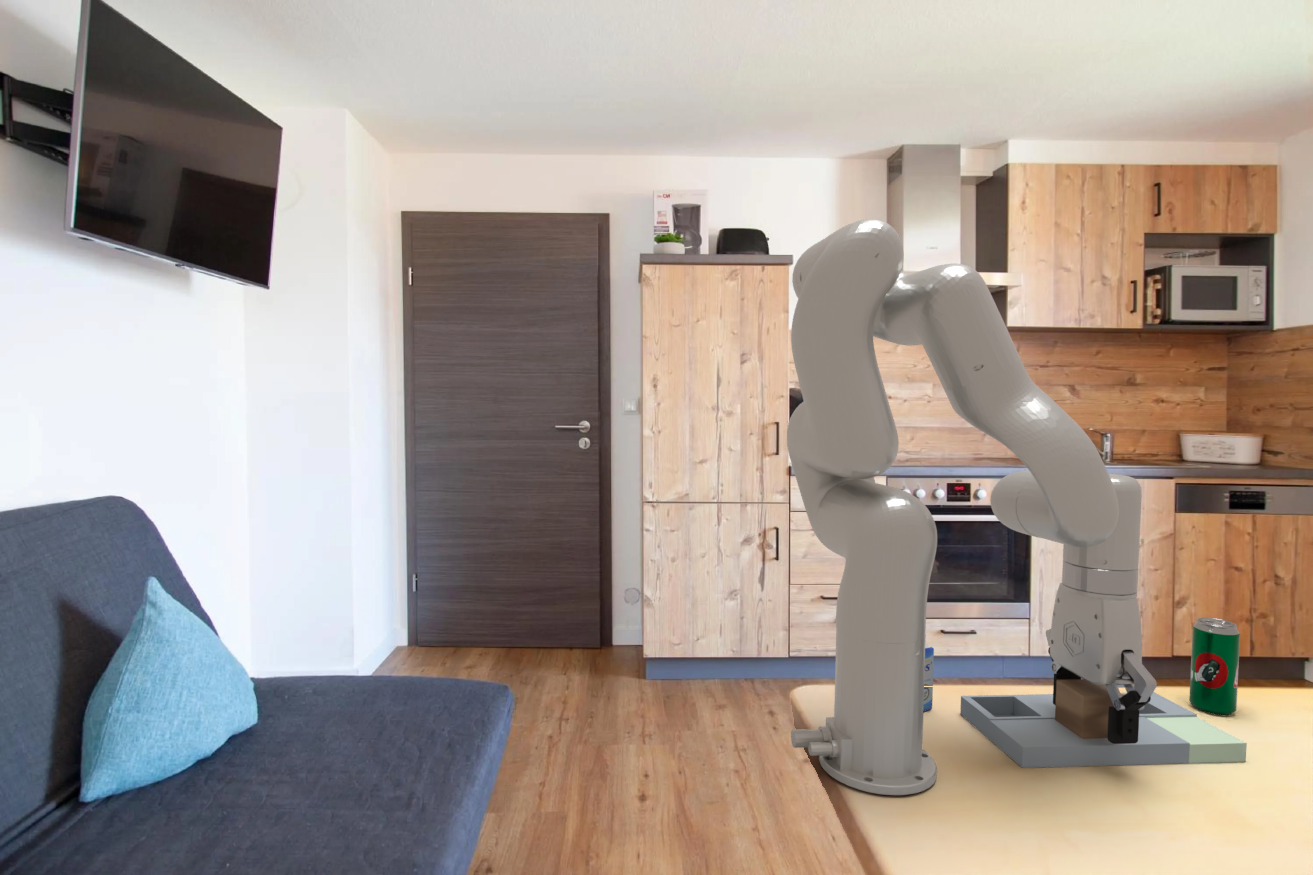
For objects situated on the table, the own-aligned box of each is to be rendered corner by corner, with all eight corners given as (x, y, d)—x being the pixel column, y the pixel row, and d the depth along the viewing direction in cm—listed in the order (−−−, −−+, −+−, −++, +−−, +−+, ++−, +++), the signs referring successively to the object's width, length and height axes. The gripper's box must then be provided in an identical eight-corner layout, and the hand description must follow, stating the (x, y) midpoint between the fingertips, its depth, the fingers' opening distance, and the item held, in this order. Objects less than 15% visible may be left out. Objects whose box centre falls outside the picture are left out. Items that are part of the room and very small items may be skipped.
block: (1082, 738, 83) (1083, 696, 83) (1055, 719, 88) (1056, 679, 88) (1123, 737, 84) (1124, 695, 84) (1093, 718, 89) (1095, 678, 89)
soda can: (1244, 718, 95) (1249, 629, 94) (1201, 715, 96) (1205, 626, 95) (1222, 703, 100) (1227, 617, 99) (1181, 699, 101) (1185, 615, 100)
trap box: (1022, 767, 81) (1023, 745, 81) (960, 714, 95) (961, 695, 95) (1245, 761, 83) (1246, 740, 83) (1153, 710, 97) (1154, 691, 97)
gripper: (1025, 563, 92) (1019, 693, 93) (1121, 599, 75) (1114, 759, 76) (1080, 562, 93) (1075, 693, 94) (1189, 599, 76) (1181, 758, 77)
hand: (1092, 722), depth 85 cm, fingers open, 9 cm apart
